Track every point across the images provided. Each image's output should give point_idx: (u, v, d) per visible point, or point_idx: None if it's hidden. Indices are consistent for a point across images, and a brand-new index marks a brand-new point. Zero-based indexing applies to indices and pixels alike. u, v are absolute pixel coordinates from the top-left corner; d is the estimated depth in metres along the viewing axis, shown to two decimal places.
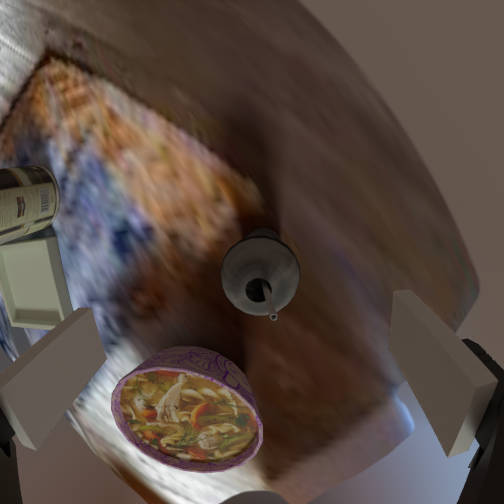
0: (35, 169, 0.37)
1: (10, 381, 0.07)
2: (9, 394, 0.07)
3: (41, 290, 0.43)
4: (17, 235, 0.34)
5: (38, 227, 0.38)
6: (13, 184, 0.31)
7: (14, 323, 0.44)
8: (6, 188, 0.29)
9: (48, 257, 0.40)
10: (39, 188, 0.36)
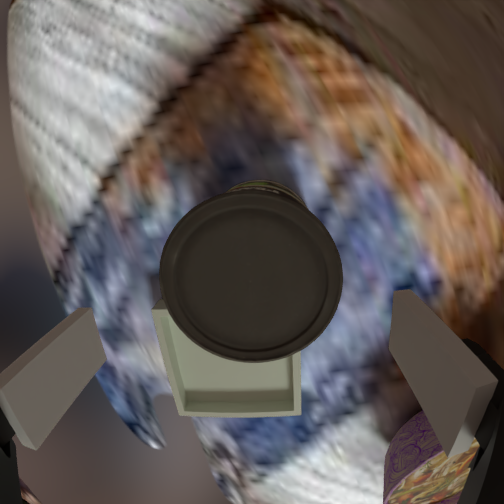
0: (287, 190, 0.27)
1: (10, 381, 0.07)
2: (9, 394, 0.07)
3: (251, 367, 0.34)
4: None
5: None
6: None
7: (187, 412, 0.34)
8: None
9: None
10: None
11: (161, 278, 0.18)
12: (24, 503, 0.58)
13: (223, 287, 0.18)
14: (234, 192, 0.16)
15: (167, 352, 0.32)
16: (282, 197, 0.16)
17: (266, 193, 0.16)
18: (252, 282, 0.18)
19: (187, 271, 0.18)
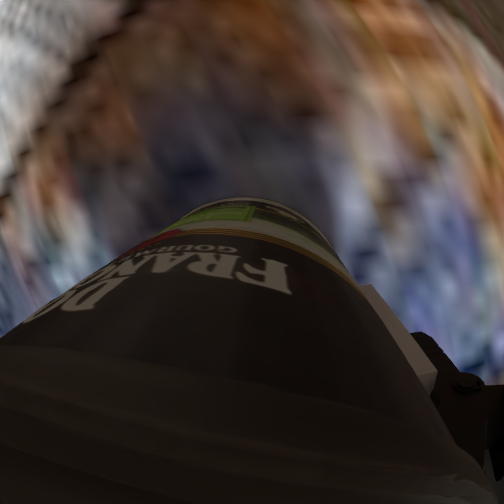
0: (300, 222, 0.13)
1: None
2: None
3: None
4: None
5: None
6: None
7: None
8: None
9: None
10: None
11: None
12: None
13: None
14: None
15: None
16: (333, 467, 0.02)
17: (190, 449, 0.01)
18: None
19: None
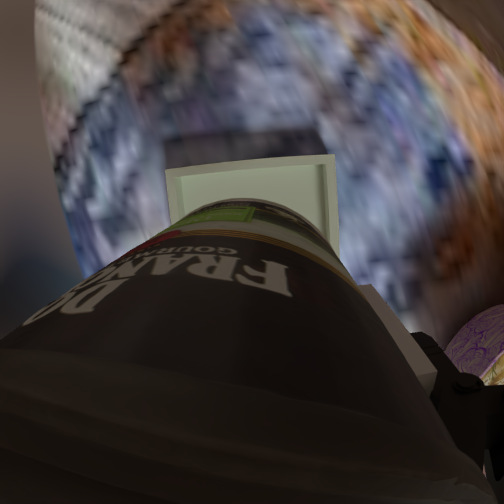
0: (300, 223, 0.13)
1: None
2: None
3: None
4: None
5: None
6: None
7: None
8: None
9: (333, 185, 0.26)
10: None
11: None
12: None
13: None
14: None
15: None
16: (333, 473, 0.01)
17: (190, 455, 0.01)
18: None
19: None
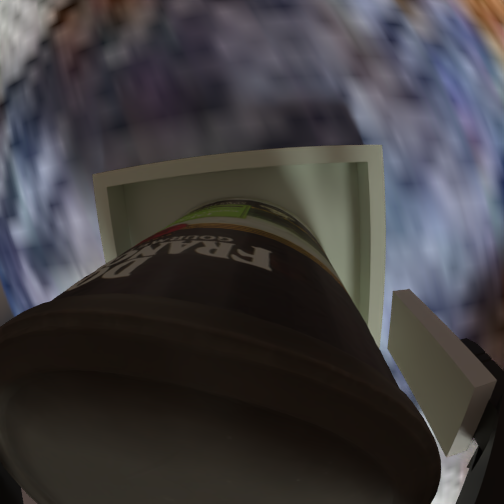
0: (290, 220, 0.14)
1: None
2: None
3: None
4: None
5: None
6: (368, 329, 0.08)
7: None
8: None
9: (380, 200, 0.14)
10: None
11: None
12: None
13: None
14: (68, 316, 0.03)
15: None
16: (282, 354, 0.03)
17: (201, 336, 0.03)
18: None
19: (35, 466, 0.05)
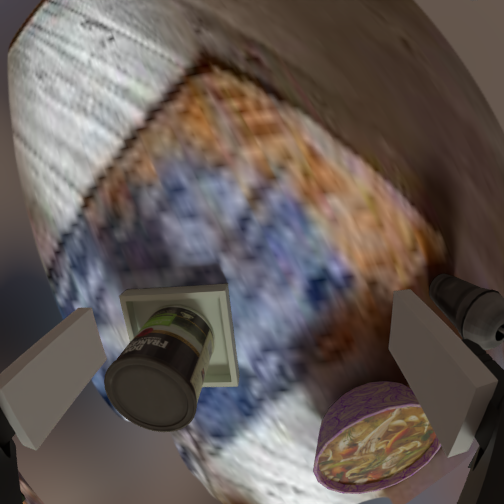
0: (190, 318, 0.39)
1: (10, 381, 0.07)
2: (9, 394, 0.07)
3: None
4: None
5: None
6: (194, 359, 0.33)
7: None
8: (193, 370, 0.32)
9: (225, 310, 0.40)
10: (207, 346, 0.38)
11: (106, 388, 0.30)
12: None
13: (136, 396, 0.30)
14: (134, 357, 0.28)
15: (131, 330, 0.41)
16: (157, 362, 0.28)
17: (149, 360, 0.28)
18: (149, 396, 0.30)
19: (118, 387, 0.30)
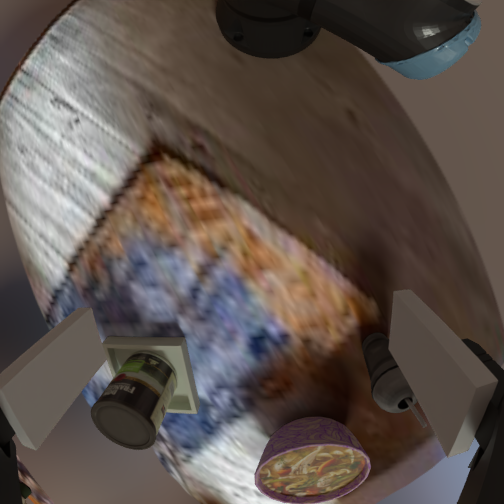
0: (156, 364, 0.48)
1: (10, 381, 0.07)
2: (9, 394, 0.07)
3: None
4: None
5: None
6: (155, 400, 0.42)
7: None
8: (153, 409, 0.40)
9: (182, 360, 0.48)
10: (168, 386, 0.47)
11: (92, 418, 0.38)
12: (24, 486, 0.74)
13: (114, 425, 0.38)
14: (109, 401, 0.37)
15: (112, 368, 0.50)
16: (125, 405, 0.37)
17: (120, 403, 0.37)
18: (123, 426, 0.38)
19: (100, 418, 0.38)
